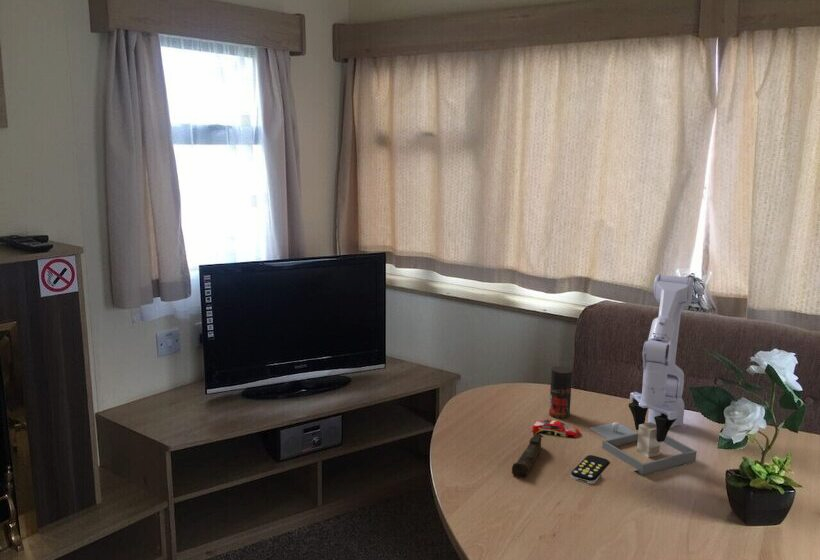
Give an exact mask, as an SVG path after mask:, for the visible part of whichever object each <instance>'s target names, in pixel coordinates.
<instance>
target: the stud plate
mask: <svg viewBox="0 0 820 560" xmlns="http://www.w3.org/2000/svg"><path fill="white" fill-rule="evenodd" d="M589 429H590V430H591V431H593V432H595V433H597V434H598V435H600V436H601V437H604V438H605V439H606V440H608V439H612V438H617V437H621V436H625V435H630V434H634V433H637V431H635V430H633V429H630V428H629V427H627V426H625V425H624V424H621V423H620V422H618V421H615V422H610V423H605V424H600V425H596V426H591V427H589Z"/></svg>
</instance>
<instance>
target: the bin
mask: <svg viewBox="0 0 820 560" xmlns="http://www.w3.org/2000/svg"><path fill="white" fill-rule="evenodd" d="M634 442H638V432H636V433H634V434H630V435H625V436H621V437H617V438H612V439H605V440H602V442H601V443H602V445H601V448H602V450H604V451H606V452H608V453H610V454H611V455H613V456H615V457H616V458H618V459H619V460H621V461H623V462H624V463H626V464H628V466H630V467H632V468H634V469H636V470H634V473H636V474H638V475H639V476H641V477H643V476H647V475H652V474H655V473H659V472H664V471H667V470H671V469H675V468H678V467H682V466H685V464H686V465H690V464H693V462H694V463H696V460H697V450H695V449H694V448H691V447H690V446H688V445H687V444H684V443H682V442H680V441H679V440H677V439H674V438H673V437H671V436H669V435H668V434H667V435H666V438H665V441H662V442H661V443H664V444H665V445H667V446H669V447H672V448H673V449H675V450H677V451H679V452H680V453H679V454H675V455H671V456H667V457H664V458H660V459H655V460H652V461H647V462H645V463H643V462H641V461H639V460H638V459H636V458H635V457H633V456H631V455H629V453H626V452H625V451H623V450H621V449H619V448H618V447H617V446H621V445H625V444H629V443H634ZM689 463H690V464H689ZM674 467H675V468H674Z"/></svg>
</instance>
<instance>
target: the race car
mask: <svg viewBox="0 0 820 560" xmlns="http://www.w3.org/2000/svg"><path fill="white" fill-rule="evenodd" d="M531 428H532V429H531V430H532V431H531V433H532V434H533V435H536V434H539V435H541V438H544V436H543V434H544V435H545V434H546V435H551V436H557V437H564V438H572V439H574V438H575V439H576V438H579V437H580V436H581V432H580V430H579V429H578V428H576V427H575V426H571V425H568V424H565V423H564V422H562V421H559V420H555V419H541V420H535V422H534V423H533V425H532V427H531Z"/></svg>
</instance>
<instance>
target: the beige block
mask: <svg viewBox="0 0 820 560" xmlns="http://www.w3.org/2000/svg"><path fill="white" fill-rule="evenodd" d="M637 431H638V432H637V433H638V441H636V442H637V443H636V444H637V445H636V452H637V453H639V454H641V455H642V456H643V457H645V458H652V457H656V456H659V455H660V454H661V453H660V452H661V443H662V442H658V441H657V439H656V433H657V428H656V425H655V424H653V423H651V422H649V423H648V422H645V423H644V424H640V425H639V430H637Z"/></svg>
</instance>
